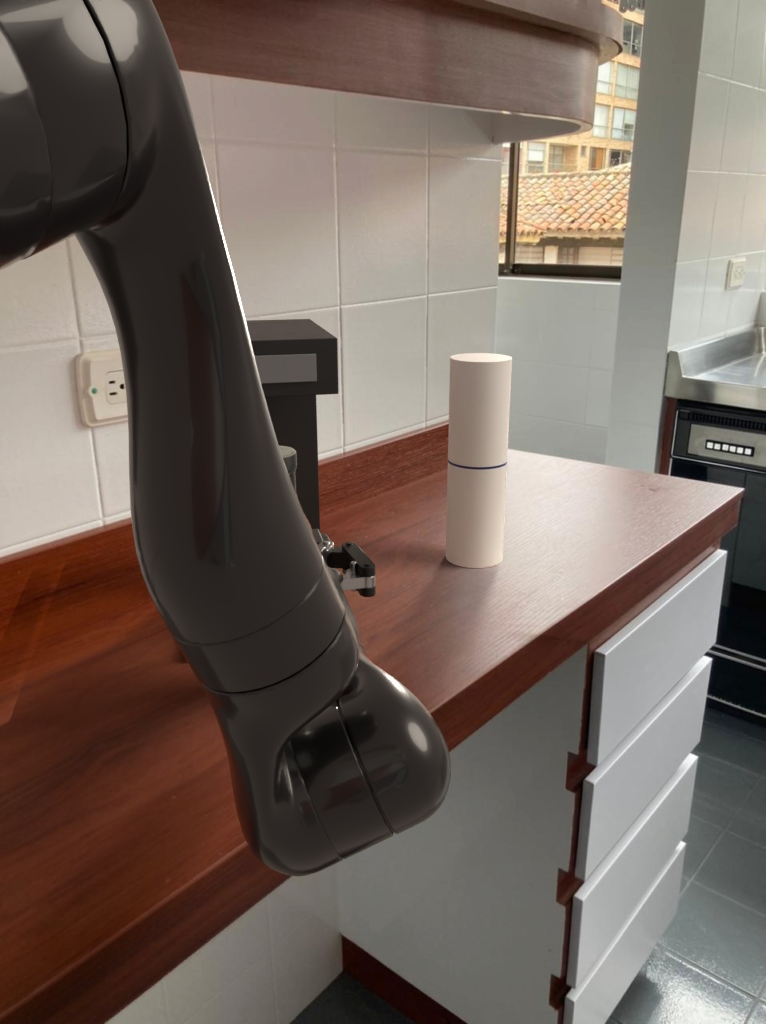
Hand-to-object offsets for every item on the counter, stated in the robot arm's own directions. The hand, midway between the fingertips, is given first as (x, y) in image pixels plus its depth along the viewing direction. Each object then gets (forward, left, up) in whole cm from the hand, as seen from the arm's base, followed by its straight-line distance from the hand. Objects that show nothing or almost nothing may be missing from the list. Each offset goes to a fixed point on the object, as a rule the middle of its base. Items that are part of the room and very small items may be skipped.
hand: (274, 542), depth 70 cm
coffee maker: (0, +14, -13) cm, 19 cm away
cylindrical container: (+27, +24, -14) cm, 39 cm away
